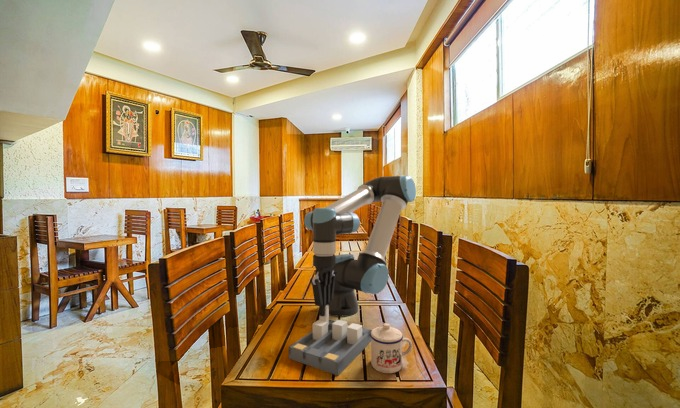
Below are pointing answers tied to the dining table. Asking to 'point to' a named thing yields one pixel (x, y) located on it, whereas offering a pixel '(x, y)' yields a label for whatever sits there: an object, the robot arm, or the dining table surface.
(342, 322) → the tab
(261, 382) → the dining table surface
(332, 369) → the switch bank
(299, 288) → the dining table surface
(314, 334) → the tab
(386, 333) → the teacup with lid
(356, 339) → the tab
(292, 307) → the dining table surface
